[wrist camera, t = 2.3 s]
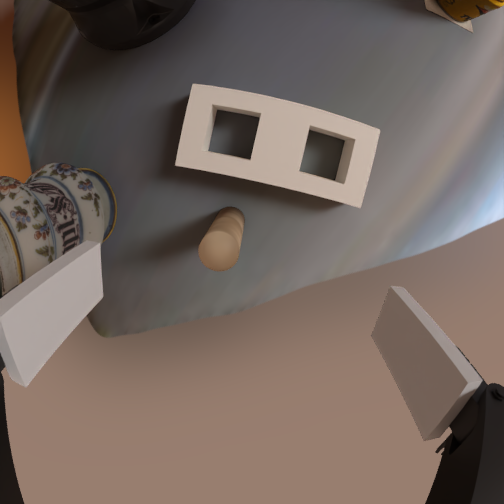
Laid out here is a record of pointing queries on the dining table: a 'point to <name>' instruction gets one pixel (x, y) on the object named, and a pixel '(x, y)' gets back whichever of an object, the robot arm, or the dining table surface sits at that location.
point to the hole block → (278, 143)
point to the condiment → (462, 9)
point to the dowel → (223, 240)
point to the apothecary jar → (50, 218)
